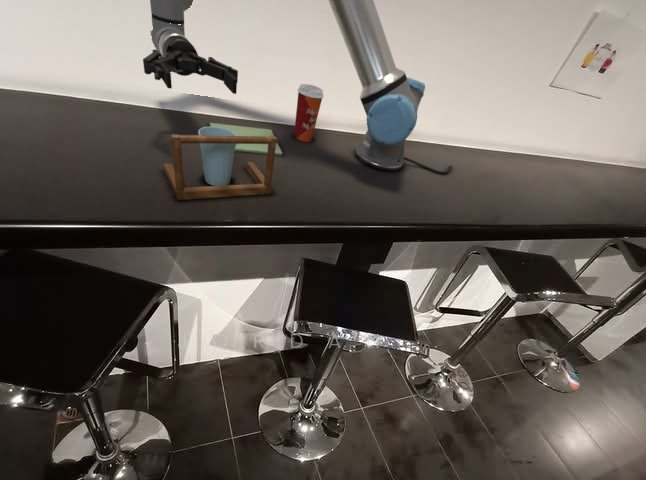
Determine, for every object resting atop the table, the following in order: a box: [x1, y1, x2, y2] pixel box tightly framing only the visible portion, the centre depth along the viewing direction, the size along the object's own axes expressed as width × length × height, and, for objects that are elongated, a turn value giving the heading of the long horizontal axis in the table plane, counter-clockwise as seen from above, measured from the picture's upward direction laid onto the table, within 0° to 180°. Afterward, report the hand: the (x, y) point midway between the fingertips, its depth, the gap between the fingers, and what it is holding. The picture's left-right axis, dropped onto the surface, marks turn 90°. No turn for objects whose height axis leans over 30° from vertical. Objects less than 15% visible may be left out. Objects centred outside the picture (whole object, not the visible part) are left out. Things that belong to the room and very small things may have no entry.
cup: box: [197, 126, 236, 186], centre depth 74 cm, size 8×8×10 cm
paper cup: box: [293, 83, 325, 143], centre depth 102 cm, size 8×8×14 cm
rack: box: [163, 133, 278, 201], centre depth 73 cm, size 21×12×13 cm, turn 119°
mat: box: [209, 122, 283, 156], centre depth 97 cm, size 18×16×1 cm
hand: (203, 84), depth 72 cm, fingers open, 13 cm apart
